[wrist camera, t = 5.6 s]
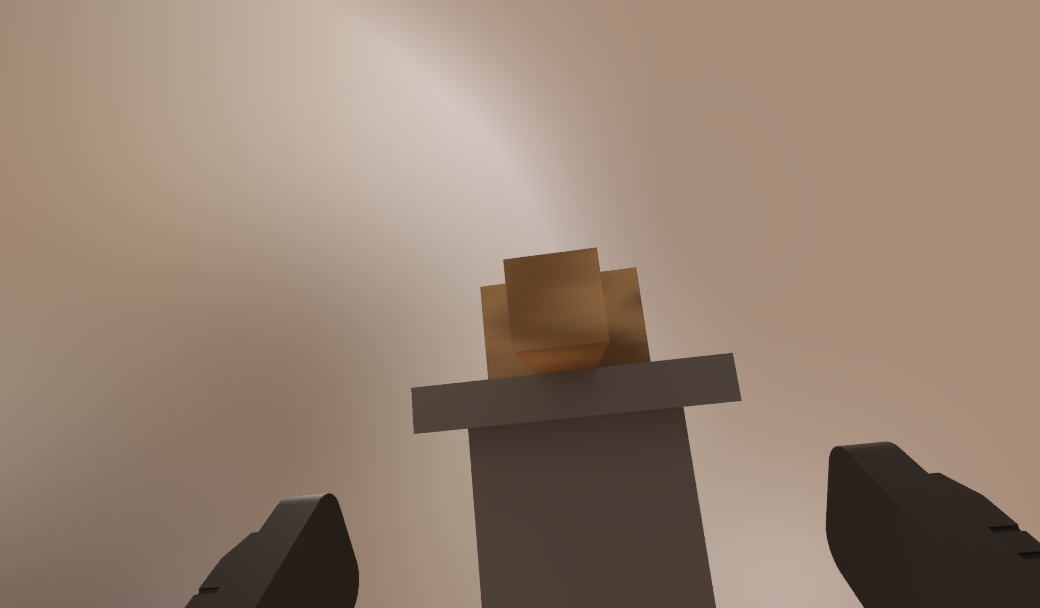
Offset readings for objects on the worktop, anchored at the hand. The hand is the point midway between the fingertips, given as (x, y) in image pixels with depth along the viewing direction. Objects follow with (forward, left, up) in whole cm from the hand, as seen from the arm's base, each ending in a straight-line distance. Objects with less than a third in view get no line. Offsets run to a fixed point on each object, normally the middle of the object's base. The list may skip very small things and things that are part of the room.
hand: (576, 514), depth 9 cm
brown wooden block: (+5, -12, +3) cm, 14 cm away
